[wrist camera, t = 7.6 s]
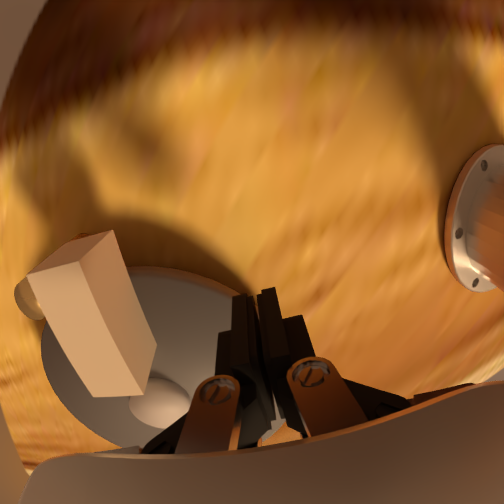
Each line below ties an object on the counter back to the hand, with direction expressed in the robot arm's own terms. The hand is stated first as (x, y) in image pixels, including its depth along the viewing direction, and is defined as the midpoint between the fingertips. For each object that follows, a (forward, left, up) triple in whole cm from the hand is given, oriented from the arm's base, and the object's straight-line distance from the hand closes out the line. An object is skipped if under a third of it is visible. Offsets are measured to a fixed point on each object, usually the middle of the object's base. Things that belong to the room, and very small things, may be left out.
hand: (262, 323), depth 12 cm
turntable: (+7, +7, -5) cm, 11 cm away
